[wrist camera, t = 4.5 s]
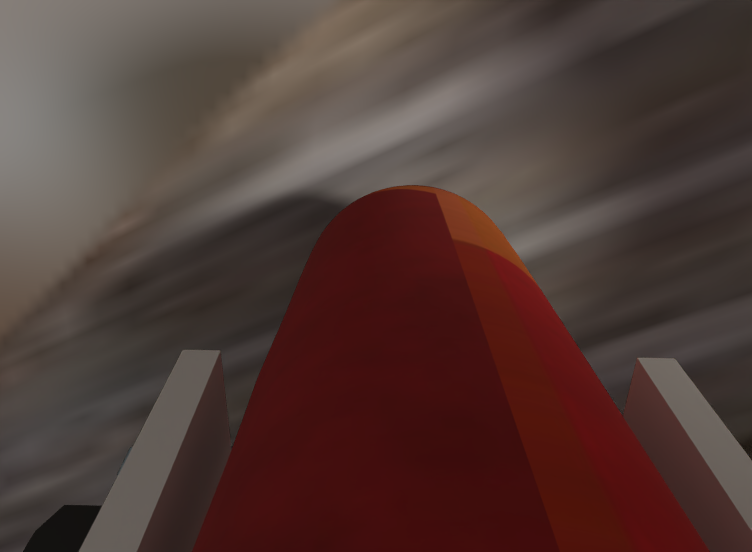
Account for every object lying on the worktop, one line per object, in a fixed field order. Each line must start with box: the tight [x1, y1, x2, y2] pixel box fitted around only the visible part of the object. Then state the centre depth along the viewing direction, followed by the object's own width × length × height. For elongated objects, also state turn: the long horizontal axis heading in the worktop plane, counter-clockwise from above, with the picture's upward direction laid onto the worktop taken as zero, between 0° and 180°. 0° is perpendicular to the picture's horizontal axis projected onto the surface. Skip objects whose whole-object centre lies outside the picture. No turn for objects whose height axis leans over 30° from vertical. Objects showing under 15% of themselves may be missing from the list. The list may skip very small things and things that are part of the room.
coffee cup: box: [192, 185, 710, 552], centre depth 11 cm, size 8×8×15 cm
